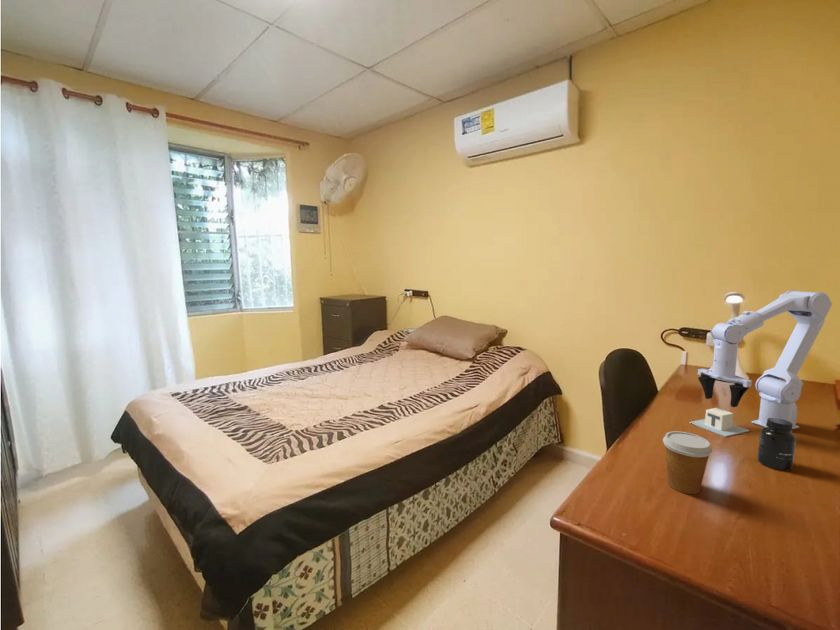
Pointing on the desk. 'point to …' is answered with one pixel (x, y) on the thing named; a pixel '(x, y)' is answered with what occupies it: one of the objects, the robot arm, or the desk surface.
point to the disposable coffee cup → (686, 460)
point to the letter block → (719, 419)
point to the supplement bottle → (777, 444)
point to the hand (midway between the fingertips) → (721, 402)
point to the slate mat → (725, 433)
